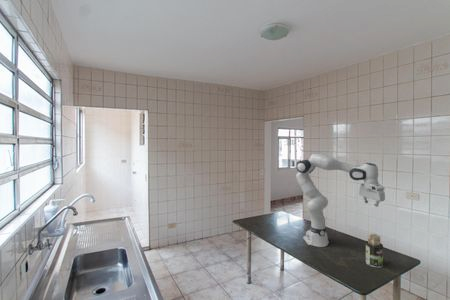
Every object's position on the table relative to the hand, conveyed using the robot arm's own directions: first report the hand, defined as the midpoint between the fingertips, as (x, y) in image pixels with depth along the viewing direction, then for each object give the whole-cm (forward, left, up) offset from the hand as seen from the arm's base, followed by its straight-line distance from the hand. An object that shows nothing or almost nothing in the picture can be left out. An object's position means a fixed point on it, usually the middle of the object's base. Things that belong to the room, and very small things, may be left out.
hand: (371, 204), depth 172 cm
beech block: (+8, -5, -25) cm, 27 cm away
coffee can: (+8, -5, -39) cm, 40 cm away
